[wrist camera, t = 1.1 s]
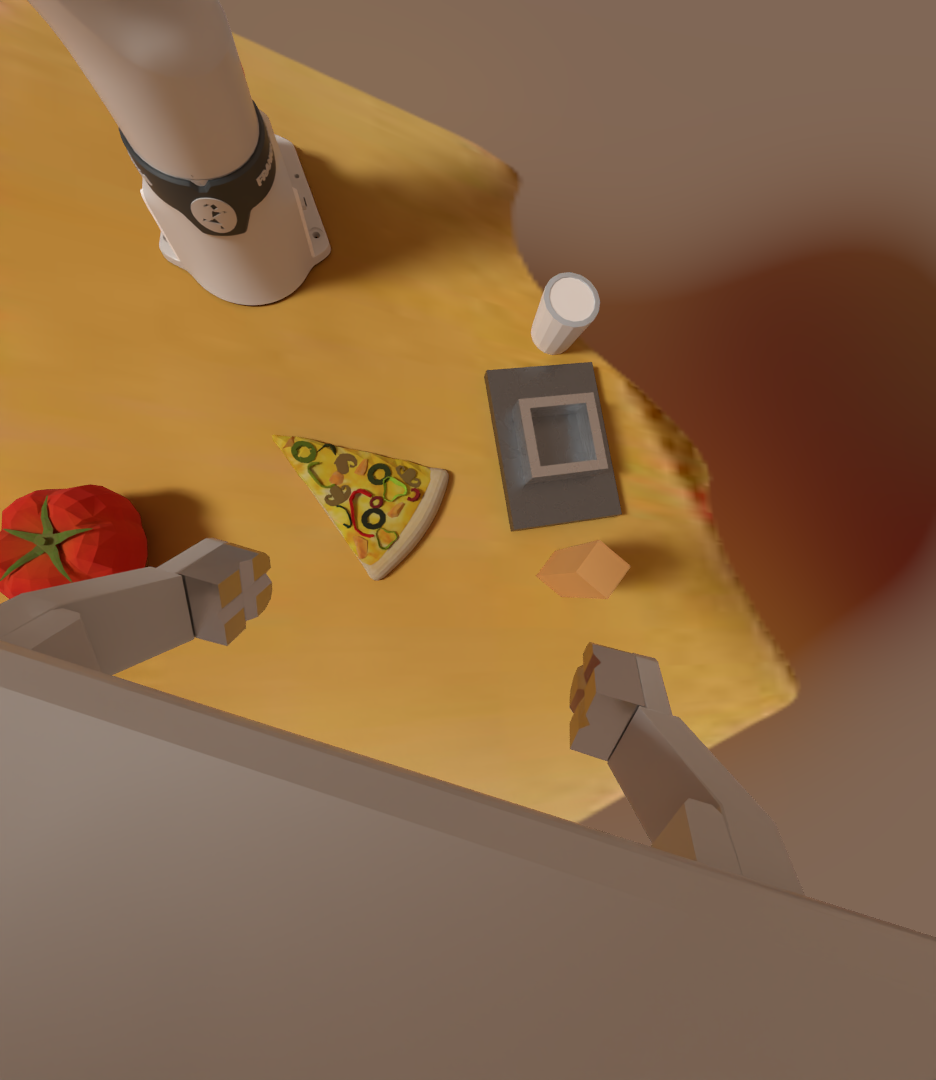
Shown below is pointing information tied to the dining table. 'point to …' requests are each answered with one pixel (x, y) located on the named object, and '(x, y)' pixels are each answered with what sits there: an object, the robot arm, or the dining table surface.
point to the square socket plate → (551, 445)
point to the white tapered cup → (564, 312)
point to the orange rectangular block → (584, 571)
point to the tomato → (68, 538)
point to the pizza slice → (369, 498)
